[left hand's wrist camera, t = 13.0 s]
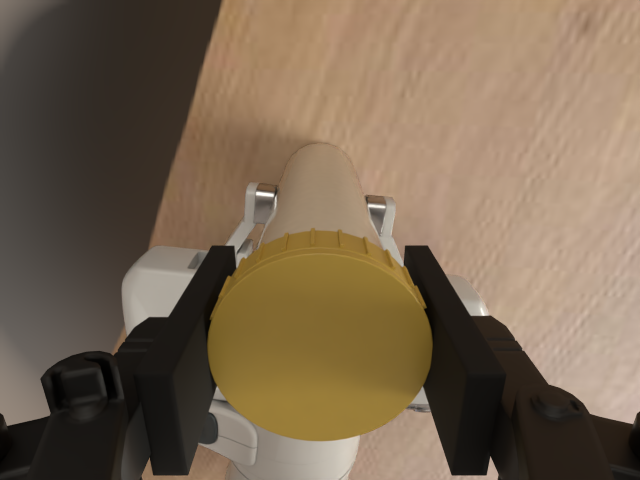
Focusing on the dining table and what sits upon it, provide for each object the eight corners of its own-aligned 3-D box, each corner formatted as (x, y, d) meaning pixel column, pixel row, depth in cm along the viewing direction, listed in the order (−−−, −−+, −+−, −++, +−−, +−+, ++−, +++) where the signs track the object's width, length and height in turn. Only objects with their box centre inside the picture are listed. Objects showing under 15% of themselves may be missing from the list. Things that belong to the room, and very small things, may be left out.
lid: (174, 308, 12) (154, 341, 11) (340, 182, 11) (343, 200, 9) (304, 431, 14) (302, 474, 12) (460, 336, 13) (480, 372, 11)
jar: (268, 173, 28) (188, 333, 11) (326, 127, 27) (337, 225, 10) (314, 227, 30) (305, 443, 13) (370, 185, 29) (447, 359, 11)
